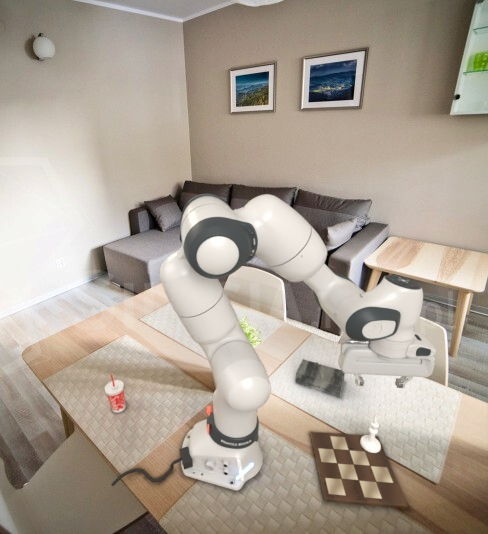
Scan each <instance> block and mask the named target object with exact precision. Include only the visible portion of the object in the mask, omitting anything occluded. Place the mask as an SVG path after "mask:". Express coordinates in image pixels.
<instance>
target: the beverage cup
mask: <svg viewBox="0 0 488 534" xmlns="http://www.w3.org/2000/svg"><path fill="white" fill-rule="evenodd" d="M110 379H111V381H109V382H107V384H105V386H104V392H105V394H106V396H107V399H108V402H109V405H110V407H111V410H112V412H113V413H115V414H116V413H118V414H119V413H122V412H123V411H124V410H125V409H126V407H127V403H126V397H125V390H124V389H125V384H124V382H123V381H122V380H121V379H114V376H113V374H110Z"/></svg>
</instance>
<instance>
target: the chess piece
mask: <svg viewBox="0 0 488 534" xmlns="http://www.w3.org/2000/svg"><path fill="white" fill-rule="evenodd" d="M379 427H380V424H379V422H378V417H374V419H373V420H371V421H370V427H368V431H369V432H370V433H369V434H364V436H362V438H361V440H360V443H361V446H362V447H363V448H364V449H365V450H367V451H368V452H371V453H377V452H379V451H380V449H381V445H380V442H381V441H380V442H379V441H378V440H377V439H376V438H375V436H376V435H377V434H378V433H379V430H378V428H379Z"/></svg>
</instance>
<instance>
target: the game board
mask: <svg viewBox="0 0 488 534" xmlns="http://www.w3.org/2000/svg"><path fill="white" fill-rule="evenodd" d="M364 435H365V434H364ZM364 435H363V434H349V433H335V432H334V433H333V432H317V431H310V434H309V436H310V440H311V444H312V448H313V454H314V457H315V464H316V468H317V473H318V477H319V481H320V485H321V491H322V495H323V501H324V502H326V503H338V504H348V505H349V504H350V505H359V506H371V507H380V508H391V509H403V510H405V509H406V510H407V509H408V503H407V501H406V499H405V497H404V493H403V492H402V489H401V486H400V485H399V482H398V480H397V478H396V475H395V473H394V470H393V468H392V466H391V463H390V461H389V458H388V456H387V454H386V452H385V449H384V447H383V444H382V442H381V440H380V437H379V436H378V435H375V438H376V439H377V440H378V441H379V442H380V445H381V449H380V451H379V452H377V453H371V452H368V451H367V450H365V449H364V448H363V447H362V446H361V443H360V440H361V438H362V436H364Z"/></svg>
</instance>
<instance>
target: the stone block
mask: <svg viewBox="0 0 488 534" xmlns="http://www.w3.org/2000/svg"><path fill="white" fill-rule="evenodd" d="M345 376H346V373H343V371H342V370H341V369H340V368H335V367H332V366H328V365H324V364H321V363H318V362H315V361H311V360H308V359H304V358H303V359H302V360H301V362H300V364H299V365H298V368H297V370H296V373H295V383H296V384H299V385H302V386H304V387H308V388H312V389H315V390H319V391H320V392H323V393H326V394H329V395H332V396H333V395H334V396H335V397H337V398H341V396H342V391H343V386H344V383H345Z"/></svg>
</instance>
